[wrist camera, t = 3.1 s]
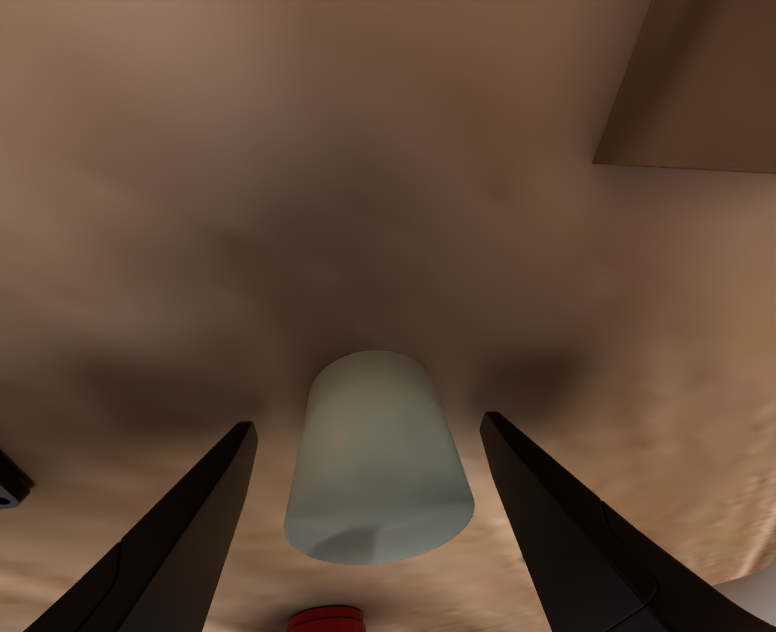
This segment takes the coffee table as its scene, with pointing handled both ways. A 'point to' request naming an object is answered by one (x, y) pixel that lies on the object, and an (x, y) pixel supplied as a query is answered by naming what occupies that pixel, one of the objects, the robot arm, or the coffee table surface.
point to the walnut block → (698, 89)
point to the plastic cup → (328, 620)
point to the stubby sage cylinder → (375, 465)
